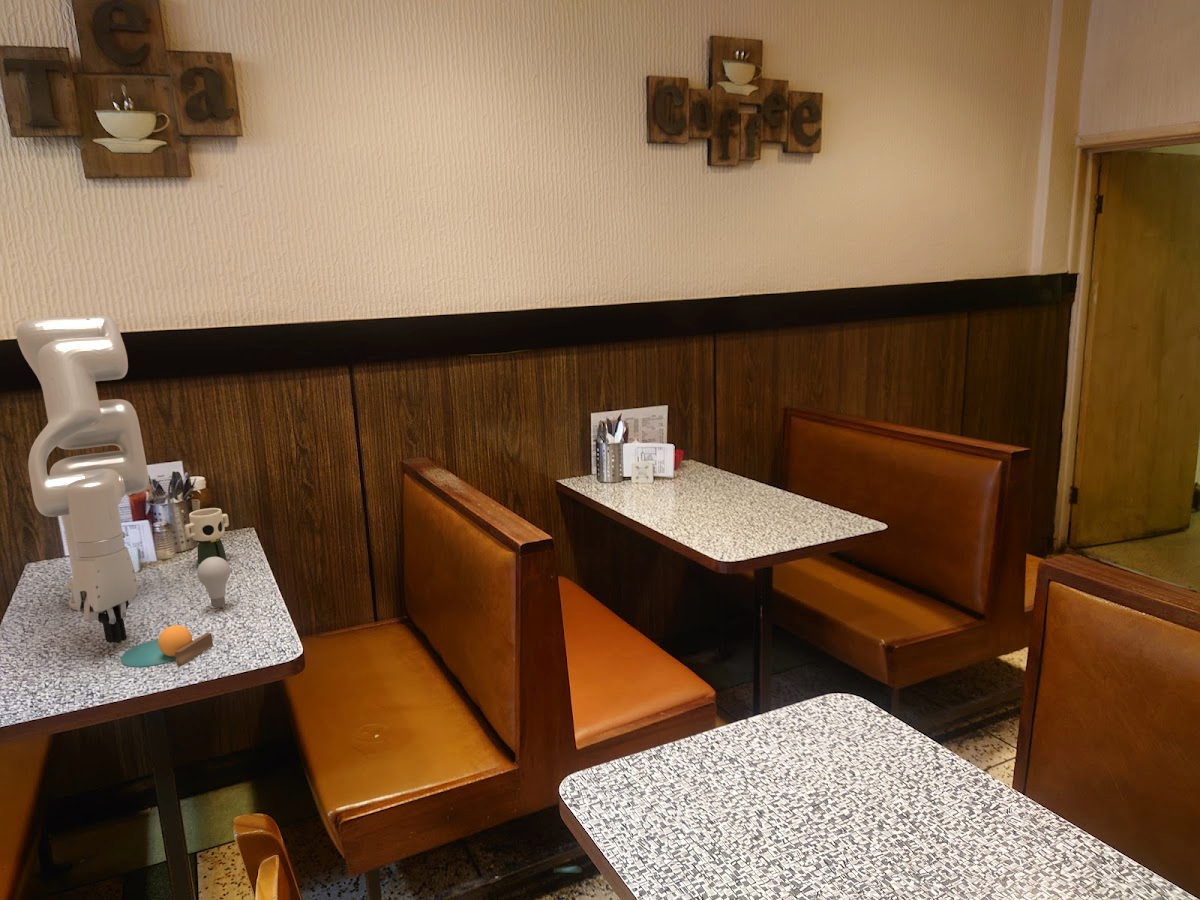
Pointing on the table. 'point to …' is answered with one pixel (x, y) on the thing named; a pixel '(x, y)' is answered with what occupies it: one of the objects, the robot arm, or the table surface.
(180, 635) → the ball
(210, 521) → the character mug
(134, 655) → the disc
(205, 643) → the stopper strip
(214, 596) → the lightbulb
